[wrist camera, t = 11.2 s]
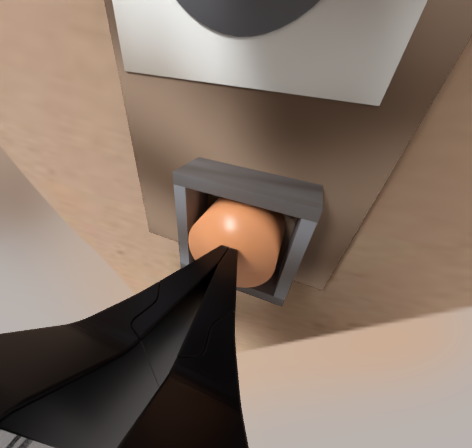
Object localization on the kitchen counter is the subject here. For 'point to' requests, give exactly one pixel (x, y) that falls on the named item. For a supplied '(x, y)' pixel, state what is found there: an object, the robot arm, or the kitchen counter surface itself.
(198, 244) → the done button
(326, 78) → the board
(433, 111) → the kitchen counter surface
